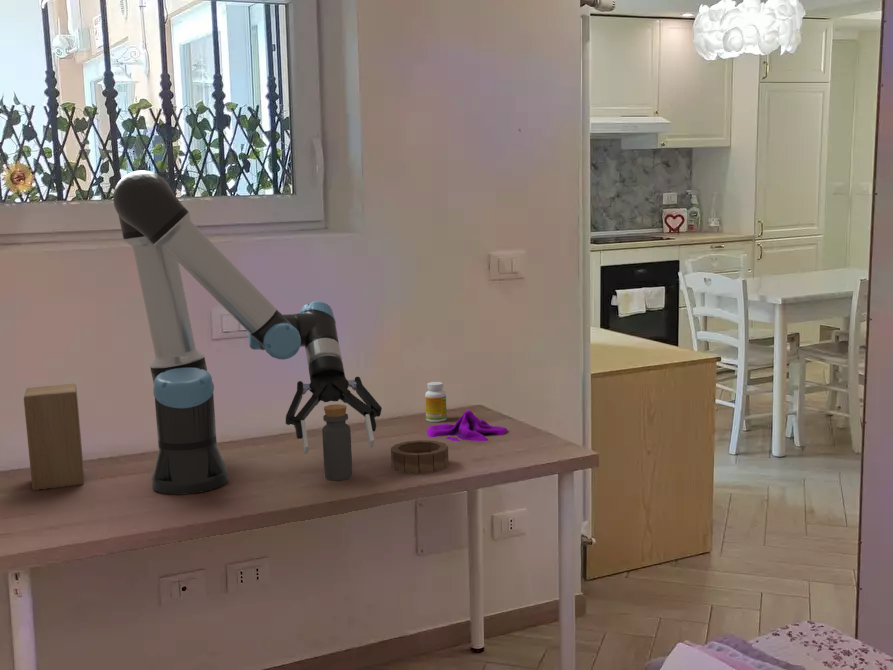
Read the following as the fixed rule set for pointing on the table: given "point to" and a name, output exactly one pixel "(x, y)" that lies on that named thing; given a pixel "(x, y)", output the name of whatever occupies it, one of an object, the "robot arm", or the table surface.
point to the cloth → (466, 429)
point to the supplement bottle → (435, 402)
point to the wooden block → (54, 436)
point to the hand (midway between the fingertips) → (339, 447)
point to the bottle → (336, 443)
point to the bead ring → (419, 456)
